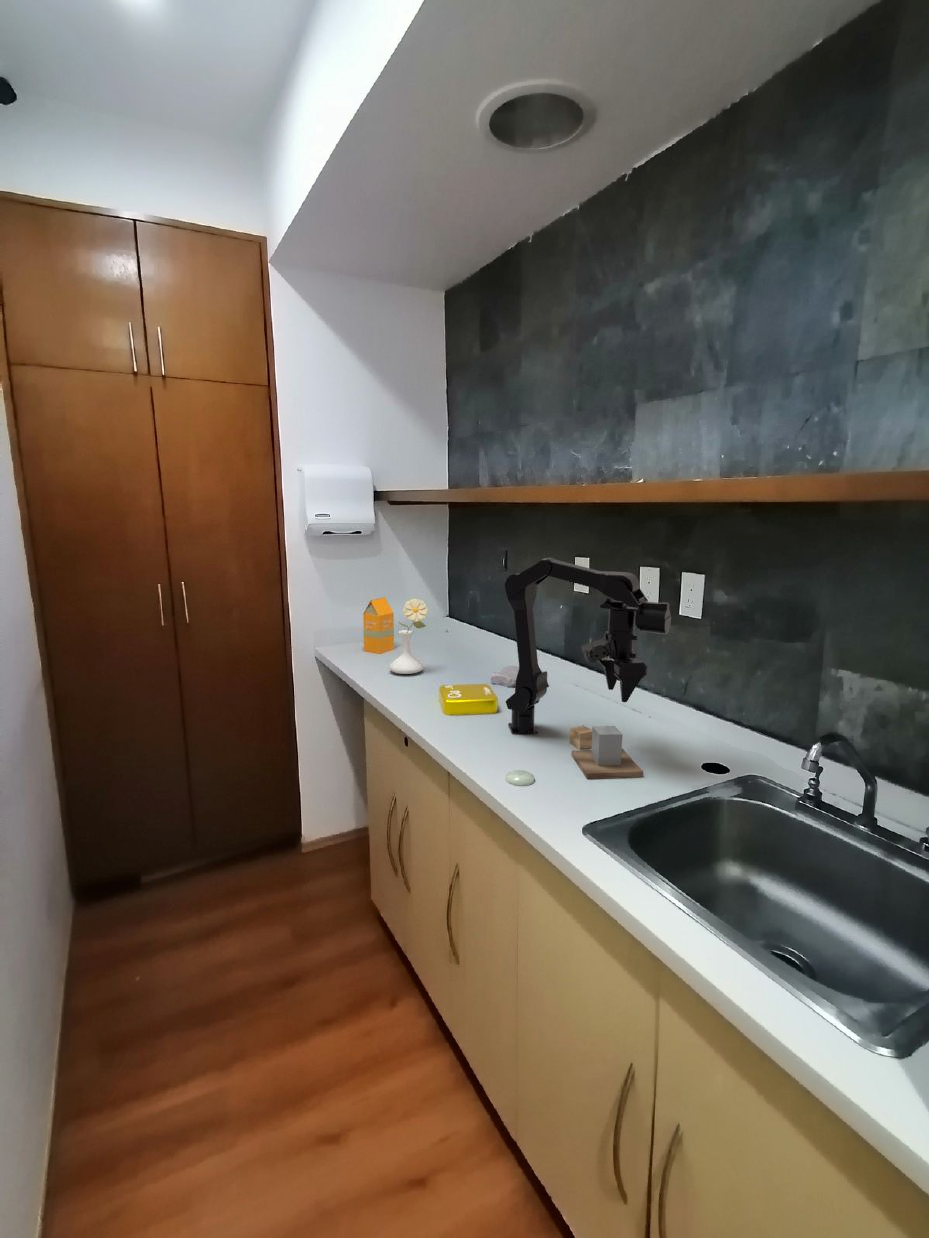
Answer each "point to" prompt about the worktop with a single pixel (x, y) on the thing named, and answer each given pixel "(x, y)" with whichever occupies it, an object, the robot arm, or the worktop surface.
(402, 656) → the flower in vase
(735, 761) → the worktop surface
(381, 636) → the orange juice
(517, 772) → the pale green rounded piece
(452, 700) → the element tile
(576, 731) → the oak cube
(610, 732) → the slate block
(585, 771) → the walnut board
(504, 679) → the stone block
